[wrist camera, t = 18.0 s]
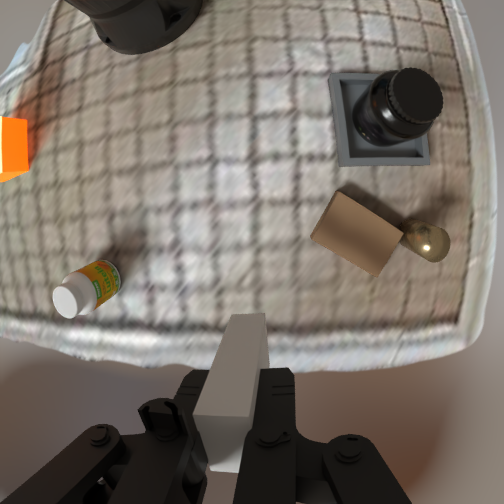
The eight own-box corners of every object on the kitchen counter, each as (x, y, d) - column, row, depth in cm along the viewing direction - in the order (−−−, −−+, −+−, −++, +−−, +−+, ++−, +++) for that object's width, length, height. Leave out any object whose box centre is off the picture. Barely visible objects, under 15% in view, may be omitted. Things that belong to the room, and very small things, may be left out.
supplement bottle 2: (376, 82, 29) (414, 42, 17) (414, 125, 30) (467, 105, 18) (337, 115, 31) (364, 83, 19) (378, 160, 31) (423, 151, 20)
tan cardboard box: (335, 190, 33) (339, 191, 31) (396, 229, 34) (403, 233, 31) (309, 235, 35) (311, 239, 33) (371, 271, 35) (377, 277, 33)
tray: (327, 79, 30) (331, 72, 28) (409, 83, 29) (417, 77, 26) (338, 166, 32) (343, 165, 30) (421, 165, 31) (430, 164, 29)
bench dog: (397, 219, 33) (421, 228, 26) (422, 218, 33) (450, 226, 26) (397, 248, 34) (421, 263, 27) (422, 246, 33) (449, 260, 27)
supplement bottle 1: (128, 284, 38) (89, 312, 29) (105, 302, 39) (66, 330, 30) (107, 251, 38) (63, 271, 28) (84, 270, 39) (42, 293, 29)
